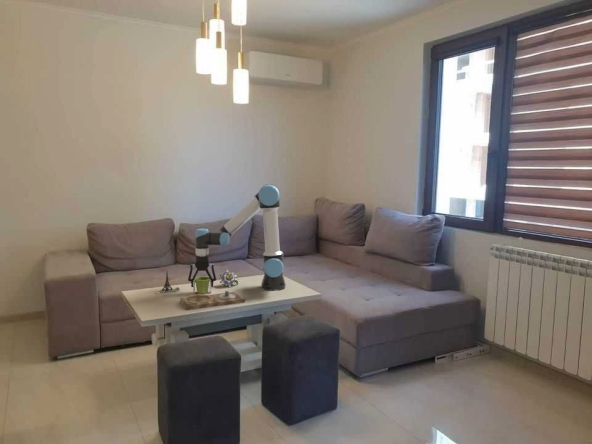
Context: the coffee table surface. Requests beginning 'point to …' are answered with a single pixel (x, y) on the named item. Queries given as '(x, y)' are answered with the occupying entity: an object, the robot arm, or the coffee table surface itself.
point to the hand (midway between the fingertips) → (202, 292)
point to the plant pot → (202, 284)
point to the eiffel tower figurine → (169, 286)
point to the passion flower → (228, 278)
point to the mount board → (210, 300)
